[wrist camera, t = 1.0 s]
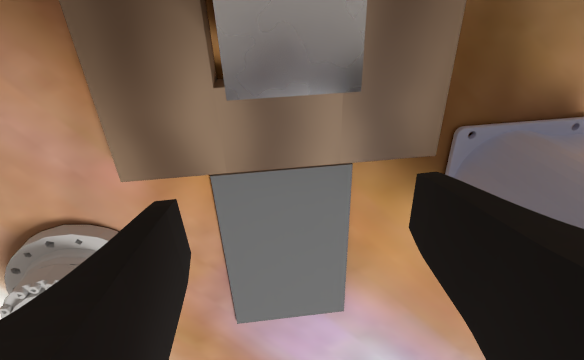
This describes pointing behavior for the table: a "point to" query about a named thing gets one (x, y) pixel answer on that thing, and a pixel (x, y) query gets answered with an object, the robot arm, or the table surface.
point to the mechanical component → (49, 260)
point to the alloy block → (290, 46)
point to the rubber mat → (285, 239)
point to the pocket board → (263, 111)
